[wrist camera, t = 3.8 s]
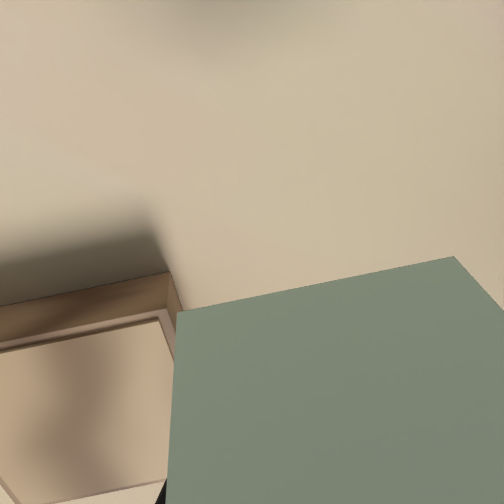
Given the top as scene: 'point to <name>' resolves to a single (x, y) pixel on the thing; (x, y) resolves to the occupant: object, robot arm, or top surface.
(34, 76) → the top surface
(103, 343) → the square wooden tray
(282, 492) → the sage cube
